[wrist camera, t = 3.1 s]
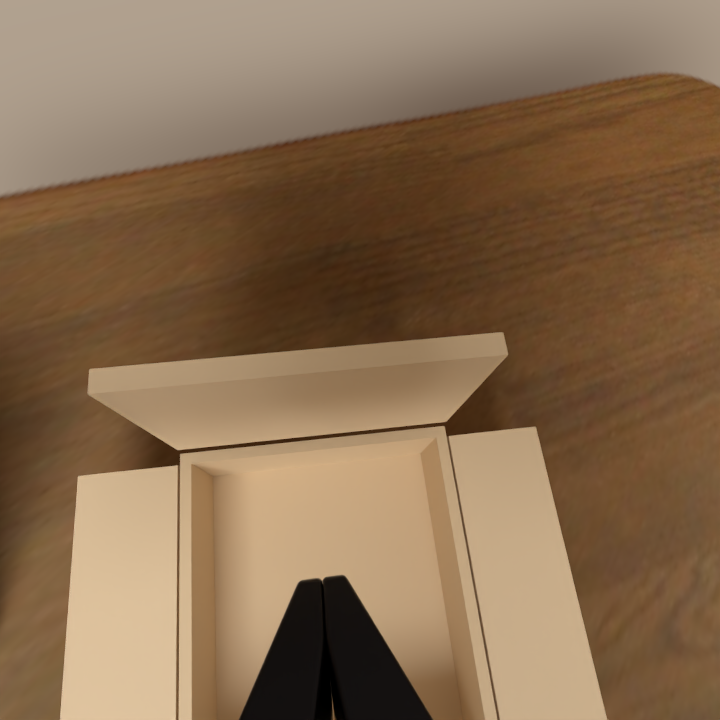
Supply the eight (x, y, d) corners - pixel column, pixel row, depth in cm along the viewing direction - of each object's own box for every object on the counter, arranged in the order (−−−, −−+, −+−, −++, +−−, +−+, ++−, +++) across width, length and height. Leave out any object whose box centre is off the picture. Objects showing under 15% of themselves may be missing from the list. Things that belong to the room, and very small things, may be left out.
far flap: (446, 421, 19) (508, 354, 12) (177, 450, 18) (87, 394, 11) (442, 403, 19) (502, 328, 12) (178, 430, 18) (89, 365, 11)
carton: (601, 897, 18) (673, 991, 14) (98, 998, 16) (28, 1135, 12) (501, 436, 23) (533, 416, 20) (121, 478, 22) (78, 464, 18)
